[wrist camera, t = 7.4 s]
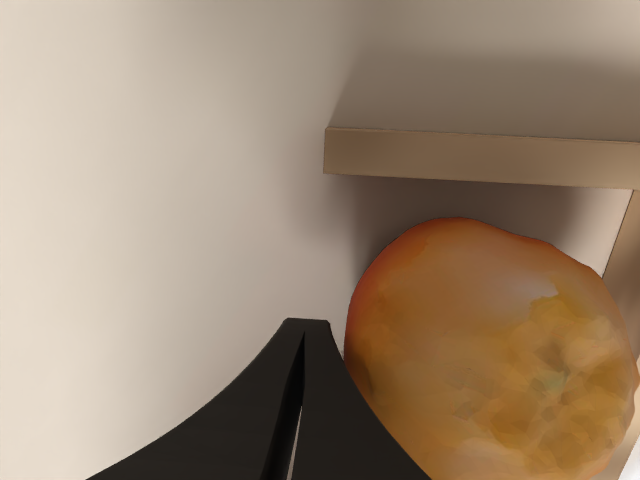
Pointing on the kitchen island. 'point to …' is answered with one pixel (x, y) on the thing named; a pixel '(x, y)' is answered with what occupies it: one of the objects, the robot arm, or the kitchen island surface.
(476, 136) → the wooden tray
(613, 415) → the fruit
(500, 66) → the kitchen island surface
